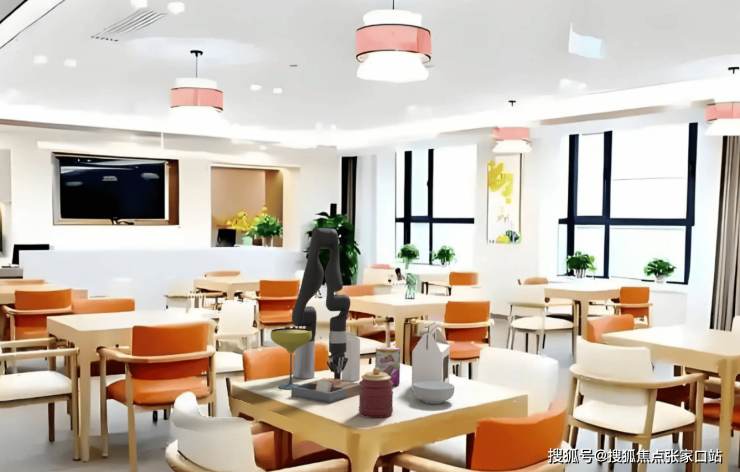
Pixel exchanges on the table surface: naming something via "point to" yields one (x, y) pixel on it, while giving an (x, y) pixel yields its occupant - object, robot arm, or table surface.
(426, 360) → the gable box
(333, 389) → the brown wooden board
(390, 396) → the canister
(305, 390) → the box
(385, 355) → the candy bar box
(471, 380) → the table surface
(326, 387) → the cream tile
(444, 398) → the cereal bowl
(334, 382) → the terracotta tile
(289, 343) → the cocktail glass
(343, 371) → the milk
